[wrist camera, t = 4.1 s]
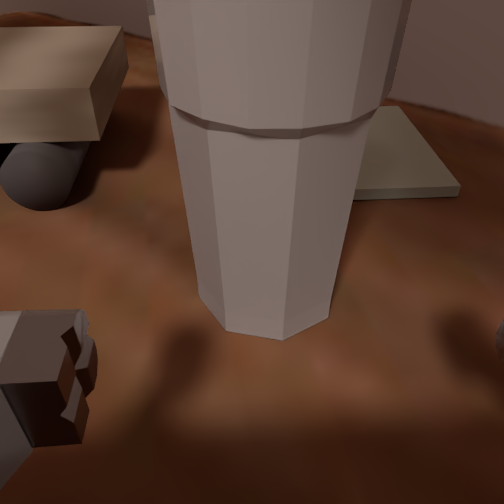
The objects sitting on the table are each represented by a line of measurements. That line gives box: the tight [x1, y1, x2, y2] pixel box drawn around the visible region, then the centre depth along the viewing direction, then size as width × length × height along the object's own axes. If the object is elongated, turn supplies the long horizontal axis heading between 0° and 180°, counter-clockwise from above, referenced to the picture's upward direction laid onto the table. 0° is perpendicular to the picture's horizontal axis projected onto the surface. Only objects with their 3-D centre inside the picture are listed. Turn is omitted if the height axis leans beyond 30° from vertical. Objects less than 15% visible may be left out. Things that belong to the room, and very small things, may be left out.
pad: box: [353, 106, 461, 200], centre depth 27 cm, size 10×10×1 cm
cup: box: [146, 0, 412, 341], centre depth 15 cm, size 7×7×11 cm
